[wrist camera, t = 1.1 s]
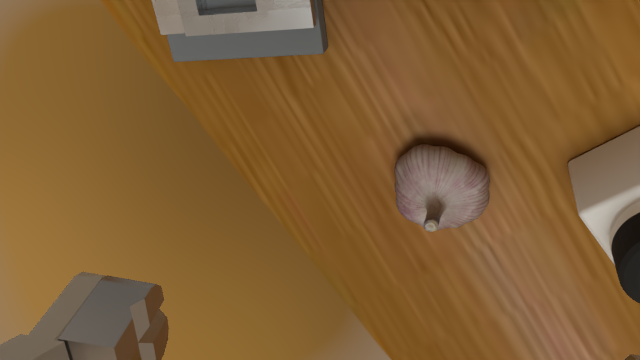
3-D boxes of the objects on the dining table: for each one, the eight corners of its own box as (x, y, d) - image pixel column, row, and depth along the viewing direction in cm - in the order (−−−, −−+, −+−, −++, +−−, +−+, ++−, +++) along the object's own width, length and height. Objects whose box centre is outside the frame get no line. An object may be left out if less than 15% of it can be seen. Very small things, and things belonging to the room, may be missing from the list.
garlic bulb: (382, 146, 48) (366, 201, 42) (472, 118, 45) (469, 173, 39) (416, 221, 51) (406, 283, 45) (502, 199, 48) (505, 262, 42)
